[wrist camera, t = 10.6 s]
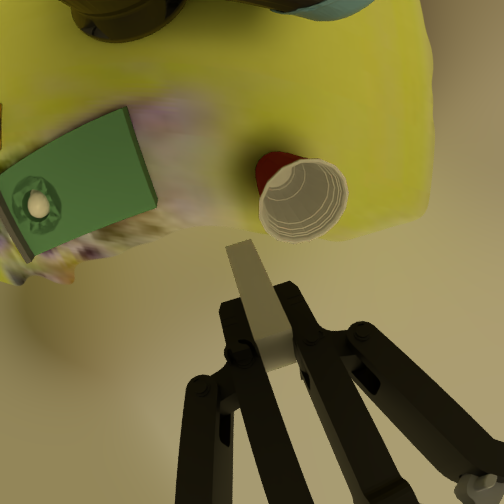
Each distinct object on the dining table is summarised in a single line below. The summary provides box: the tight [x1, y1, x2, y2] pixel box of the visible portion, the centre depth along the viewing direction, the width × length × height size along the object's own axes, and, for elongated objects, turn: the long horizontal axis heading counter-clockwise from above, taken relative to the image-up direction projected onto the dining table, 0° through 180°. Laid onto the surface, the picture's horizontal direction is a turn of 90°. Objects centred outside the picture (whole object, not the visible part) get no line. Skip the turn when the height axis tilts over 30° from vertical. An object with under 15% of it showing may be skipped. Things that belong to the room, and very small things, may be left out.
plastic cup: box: [255, 152, 349, 244], centre depth 35 cm, size 11×11×12 cm
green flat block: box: [0, 106, 158, 263], centre depth 30 cm, size 14×23×4 cm, turn 101°
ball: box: [28, 190, 50, 218], centre depth 30 cm, size 4×4×4 cm
